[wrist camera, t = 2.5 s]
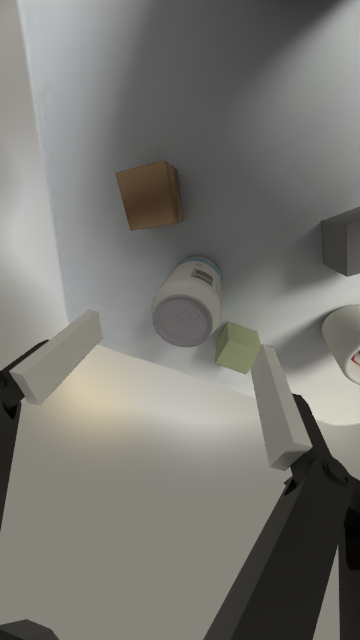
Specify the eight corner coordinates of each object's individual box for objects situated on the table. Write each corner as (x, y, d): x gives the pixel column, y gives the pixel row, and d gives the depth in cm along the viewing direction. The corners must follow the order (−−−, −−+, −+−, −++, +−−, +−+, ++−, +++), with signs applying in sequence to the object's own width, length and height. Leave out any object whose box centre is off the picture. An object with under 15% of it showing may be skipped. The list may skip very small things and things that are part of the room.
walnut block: (136, 180, 21) (115, 173, 17) (176, 170, 20) (164, 159, 16) (146, 226, 24) (130, 230, 19) (183, 220, 22) (174, 223, 18)
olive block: (227, 321, 29) (228, 340, 25) (256, 331, 29) (262, 352, 25) (215, 343, 32) (215, 363, 27) (242, 352, 31) (245, 374, 27)
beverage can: (165, 272, 26) (130, 311, 16) (204, 244, 23) (191, 270, 13) (191, 307, 29) (174, 360, 19) (230, 286, 26) (235, 336, 16)
